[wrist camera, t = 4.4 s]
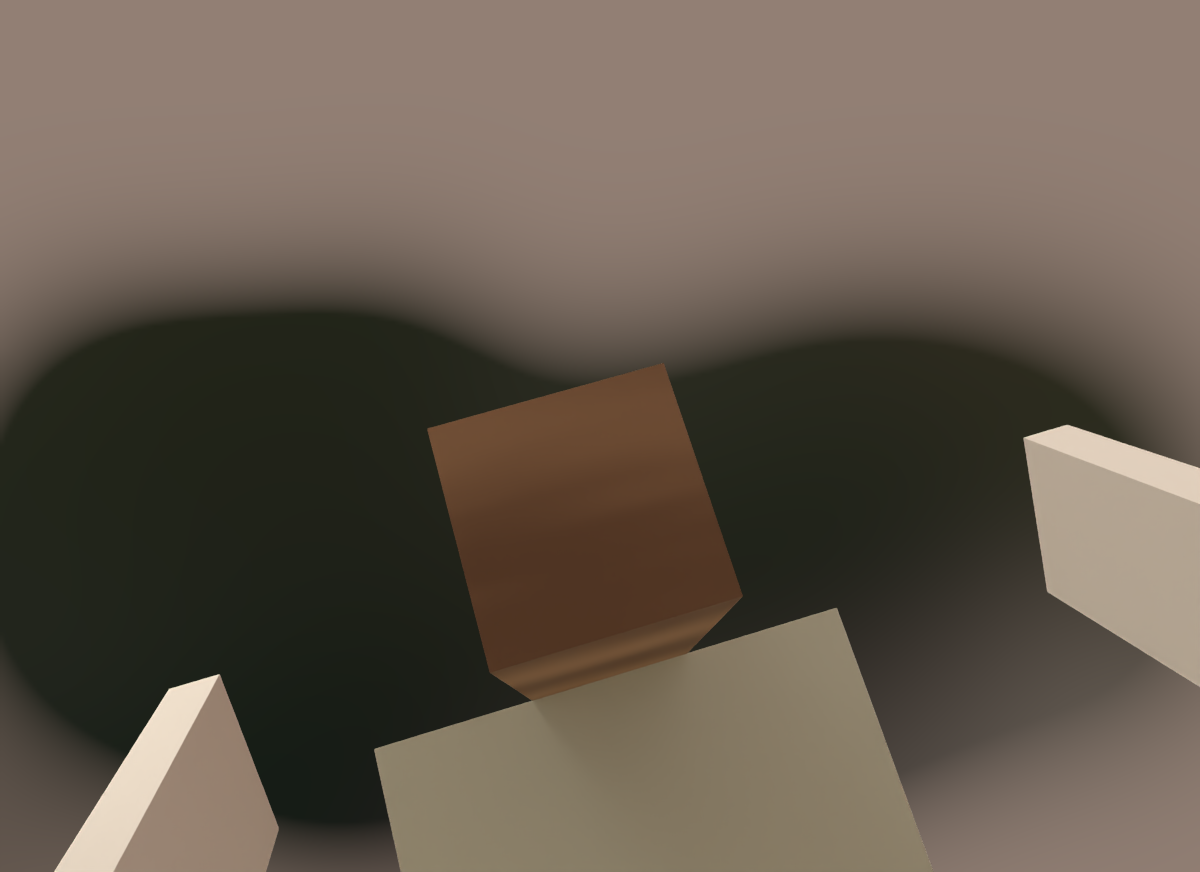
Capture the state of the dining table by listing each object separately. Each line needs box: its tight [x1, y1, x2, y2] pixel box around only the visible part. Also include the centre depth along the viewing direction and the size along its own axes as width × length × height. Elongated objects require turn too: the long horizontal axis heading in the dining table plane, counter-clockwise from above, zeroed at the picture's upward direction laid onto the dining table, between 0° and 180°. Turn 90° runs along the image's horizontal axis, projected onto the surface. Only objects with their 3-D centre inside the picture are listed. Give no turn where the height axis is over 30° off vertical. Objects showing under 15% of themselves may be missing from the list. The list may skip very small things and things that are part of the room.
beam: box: [428, 363, 742, 701], centre depth 30 cm, size 30×4×4 cm, turn 0°
